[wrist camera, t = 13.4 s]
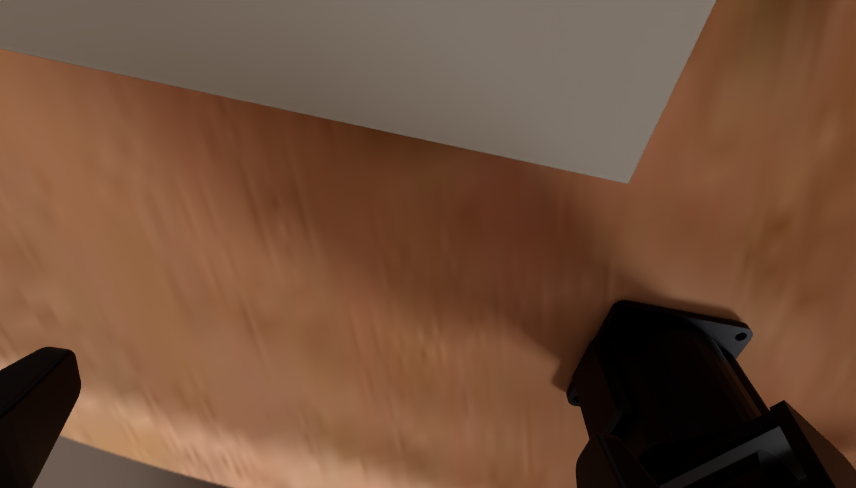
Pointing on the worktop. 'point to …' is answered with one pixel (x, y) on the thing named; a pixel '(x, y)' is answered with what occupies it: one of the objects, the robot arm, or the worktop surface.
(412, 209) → the worktop surface
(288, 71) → the switch panel
